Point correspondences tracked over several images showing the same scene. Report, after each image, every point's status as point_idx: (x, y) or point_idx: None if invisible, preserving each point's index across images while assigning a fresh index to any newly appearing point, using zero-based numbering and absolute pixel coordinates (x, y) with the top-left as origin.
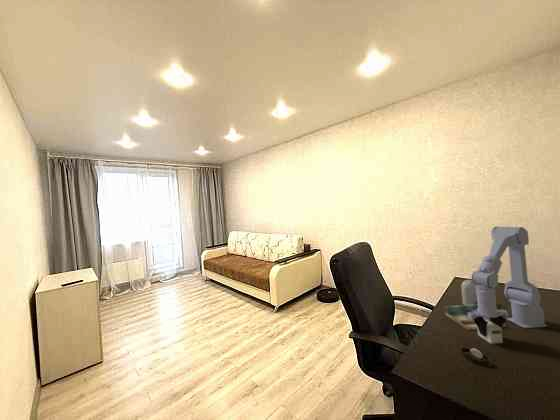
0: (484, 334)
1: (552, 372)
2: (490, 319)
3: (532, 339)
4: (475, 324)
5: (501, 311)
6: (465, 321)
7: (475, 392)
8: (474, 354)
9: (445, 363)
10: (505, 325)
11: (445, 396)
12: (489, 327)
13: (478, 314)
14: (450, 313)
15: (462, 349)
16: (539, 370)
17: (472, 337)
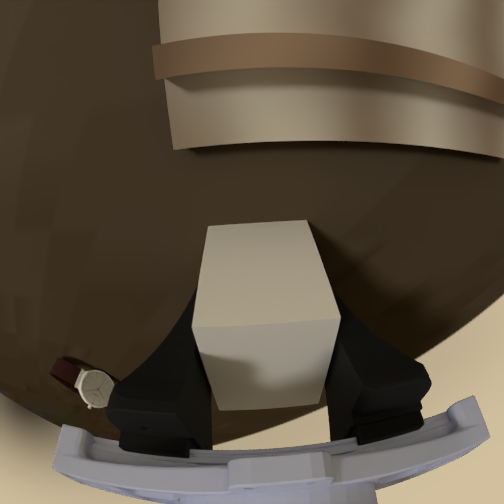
0: None
1: (293, 417)
2: (344, 362)
3: (467, 281)
4: (301, 90)
5: (434, 464)
6: (192, 73)
7: (71, 420)
8: (92, 378)
9: (17, 368)
10: (501, 156)
11: (29, 410)
12: (227, 405)
13: (143, 499)
14: None
15: (53, 371)
16: (265, 415)
17: (146, 254)
